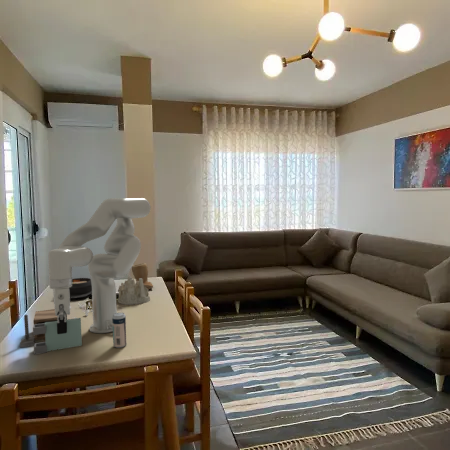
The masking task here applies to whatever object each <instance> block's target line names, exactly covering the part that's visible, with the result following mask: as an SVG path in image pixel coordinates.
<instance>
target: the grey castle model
mask: <svg viewBox="0 0 450 450" xmlns="http://www.w3.org/2000/svg"><path fill="white" fill-rule="evenodd" d="M117 292H118V298H117V303H119V304H121V305H124V306H131V305H137V304H138V305H139V304H143V303H149V302H150V301H151V297H150V295H149V290H148V289H147V288H146V287H145V286H144V285H143V280H142V278H139V281H137V282H136V280H135V278H132V277H131V275H128V277H127V279H126V280H124V282H121V284H120V285H119V286H118V290H117Z"/></svg>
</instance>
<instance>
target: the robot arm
mask: <svg viewBox="0 0 450 450" xmlns="http://www.w3.org/2000/svg"><path fill="white" fill-rule="evenodd" d="M151 207H152V206H151V204H150V202H149V201H148V200H147V199H146V198H143V197H141V198H139V197H137V198H135V197H133V198H132V197H131V198H126V197H125V198H124V197H123V198H121V197H117V198H115V197H112V198H106V199H104V200H103V201H102V202H101V203H100V204H99V206H98V207H97V209H96V210H95V211H94V212H93V214H92V215H91V216H90V218H89V220H88V221H87V222H86V223H84V224H82V225H81V226H79V227H78V228H76V229H75V230H73V231H72V232H70V233H69V234H68V235H67V236H66V237H65V238H64V239H63V241H62V242H61V243H60V245H59V246H58V248H55V249H51V250H50V251H48V277H49V279H48V280H49V283H48V285H49V289H50V290H52V291H53V305H54V306H53V307H54V308H53V309H55V315H56V316H57V319H58V323H57V334H64V333H67V322H66V320H67V319H68V316H69V315H71V309H70V306H71V298H70V290H69V287H72V279H73V271H72V270H73V269H72V268H78V267H81V268H82V267H86V266H87V267H88V272H89V273H88V274H89V276H90V279H91V283H92V294H91V301H92V310H93V312H92V321H93V322H92V324H91V325H89V332H91V333H94V334H107V333H113V321H112V317H113V315H114V314H115V313H118V312H117V286H116V281H115V279H122V278H125V277H126V276H127V275H128V274H129V273H130V271H131V270H132V266H133V265H135V264H134V263H135V262H136V261H137V258H138V257H139V255H140V252H141V250H142V249H141V248H142V243H141V240H140V238H139V237H138V236H136V235H134V234H135V231H136V230H135V229H136V228H135V224H134V222H133V219H138V218H139V219H140V218H145V217H147V216H149V214H150V212H151V209H152V208H151ZM115 221H116V225H115V227H114V228H113V230H112V231H111V233H110V235H109V236H108V238H107V239H106V241H105V242H104V245H103V246H104V247H103V249H104V252H105V253H97V254H93V251H92V250H91V249H90V248H88V247H87V246H83V245H85V244H86V243H87V242H90V241H93V240H96V239H100V238H102V237H103V236H106V234H107V233H108V231H109V230H110V228H112V227H111V226H112V225H113V224H114V222H115Z"/></svg>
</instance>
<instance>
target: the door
mask: <svg viewBox="0 0 450 450" xmlns="http://www.w3.org/2000/svg"><path fill="white" fill-rule="evenodd" d="M74 318H75V319H74ZM74 318H70V319H69V318H67V320H66V322H67V333H64V334H57V323H58V321H53V322H46V323H42V324H35V325H34V324H33V326H32V335H33V336H34V335H38V334H45V339H44V340H45V341H43V342H36V343H35V342H34V347H33V353H34V355H39V354H46V353H47V352H51V350H52V351H56V350H57V349H58V350H62V349H69V348H74V347H81V346H82V345H83V343H82V341H83V340H82V339H83V338H82V337H83V336H82V317H74Z"/></svg>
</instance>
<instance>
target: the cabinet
mask: <svg viewBox="0 0 450 450" xmlns="http://www.w3.org/2000/svg"><path fill="white" fill-rule="evenodd" d="M23 319H24V320H23V322H24V336H25V337H24V338H22V339H21V340H20V343H19V347H20V348H25V347H26V348H27V347H33V346H34V345H35V341H40V340H45V334H38V335H33V336H34V337H30V331H29V330H30V328H29V316H28V314H24V316H23ZM53 321H58V319H57V316H56V315H55V308H53V309H46V310H45V309H44V310H38V311H35V313H34V316H33V326H34V325H35V324H42V323H46V322H53Z"/></svg>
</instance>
